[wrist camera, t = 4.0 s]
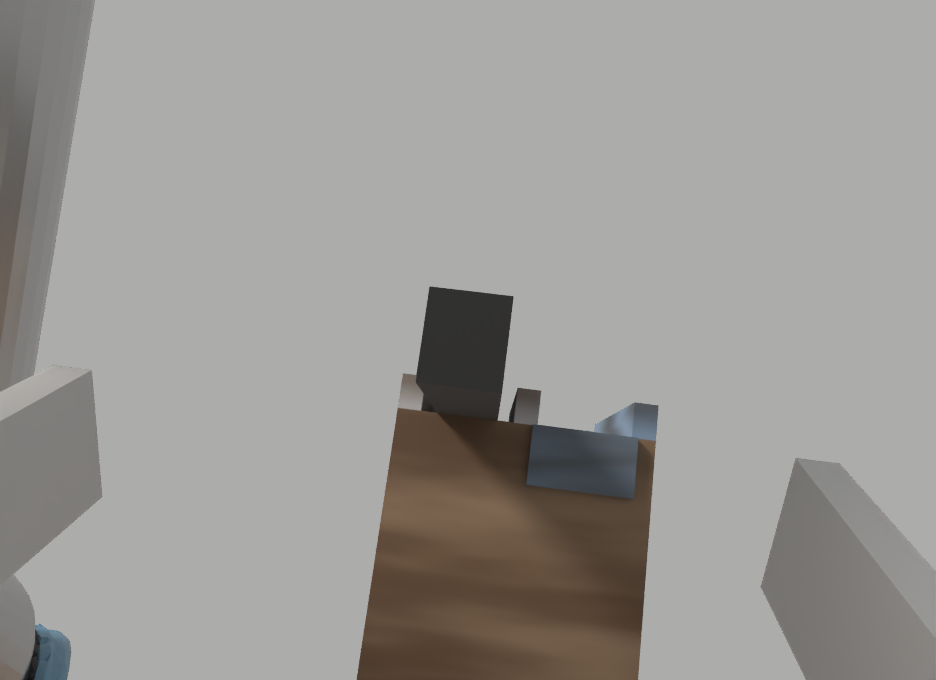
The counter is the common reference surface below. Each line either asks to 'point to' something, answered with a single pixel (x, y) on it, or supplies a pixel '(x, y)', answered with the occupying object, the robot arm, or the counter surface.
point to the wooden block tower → (510, 546)
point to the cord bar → (464, 351)
